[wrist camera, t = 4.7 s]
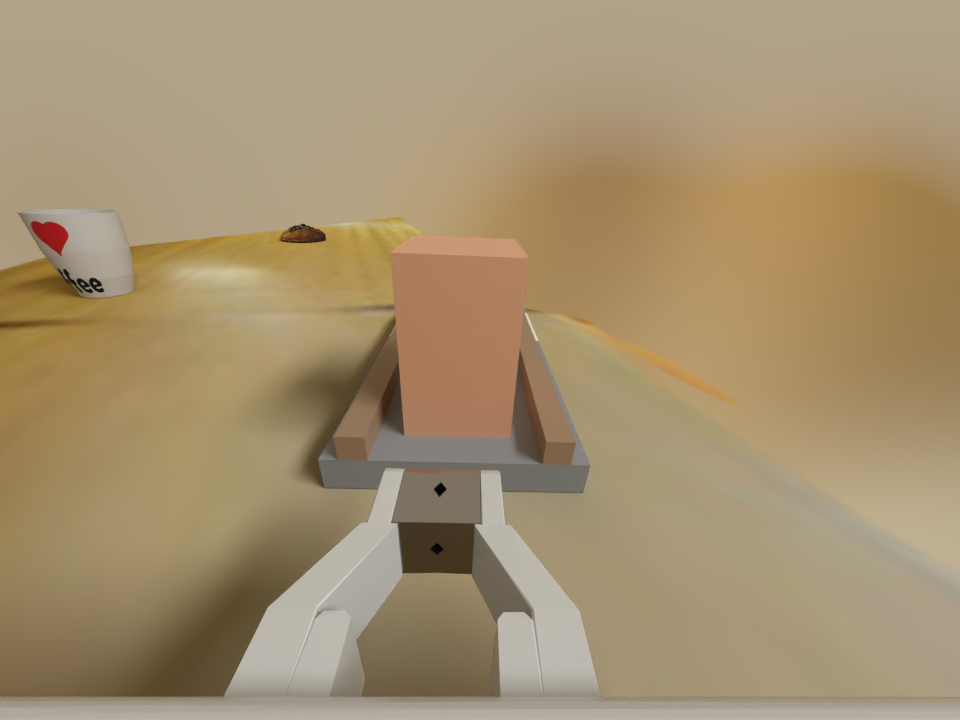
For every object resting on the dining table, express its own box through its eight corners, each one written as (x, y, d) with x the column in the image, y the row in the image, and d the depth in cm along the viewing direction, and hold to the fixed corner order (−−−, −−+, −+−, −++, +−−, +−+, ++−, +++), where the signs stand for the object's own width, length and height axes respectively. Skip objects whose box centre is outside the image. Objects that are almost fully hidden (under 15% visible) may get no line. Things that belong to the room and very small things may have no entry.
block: (404, 435, 19) (390, 252, 14) (419, 381, 24) (413, 234, 20) (510, 438, 19) (529, 258, 15) (502, 383, 25) (514, 239, 20)
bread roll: (329, 242, 90) (323, 222, 87) (284, 249, 85) (276, 228, 83) (324, 238, 98) (318, 219, 96) (282, 245, 94) (275, 225, 92)
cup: (49, 295, 43) (2, 210, 39) (128, 282, 50) (95, 208, 45) (85, 305, 41) (39, 215, 36) (163, 289, 47) (132, 212, 43)
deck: (324, 487, 18) (312, 436, 16) (416, 303, 47) (415, 278, 45) (583, 492, 18) (595, 442, 17) (517, 307, 47) (519, 282, 45)
